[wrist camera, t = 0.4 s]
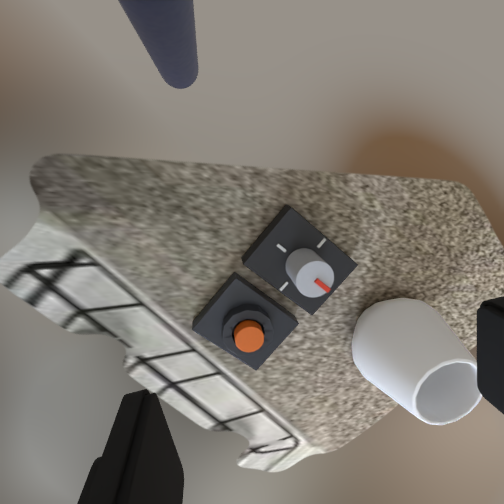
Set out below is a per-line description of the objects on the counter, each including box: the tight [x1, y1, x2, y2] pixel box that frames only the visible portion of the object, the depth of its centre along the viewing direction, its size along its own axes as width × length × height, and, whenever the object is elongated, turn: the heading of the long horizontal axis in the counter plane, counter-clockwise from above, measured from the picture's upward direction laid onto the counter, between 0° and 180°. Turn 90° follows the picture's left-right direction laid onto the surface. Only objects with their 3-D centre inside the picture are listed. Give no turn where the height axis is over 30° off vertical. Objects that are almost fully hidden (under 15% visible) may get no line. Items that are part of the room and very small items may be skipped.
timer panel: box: [242, 204, 358, 315], centre depth 42 cm, size 12×9×3 cm
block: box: [192, 272, 299, 370], centre depth 43 cm, size 11×9×4 cm
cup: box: [352, 298, 482, 425], centre depth 42 cm, size 13×13×14 cm
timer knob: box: [286, 248, 334, 297], centre depth 38 cm, size 4×4×5 cm
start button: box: [234, 320, 264, 352], centre depth 41 cm, size 4×4×2 cm
